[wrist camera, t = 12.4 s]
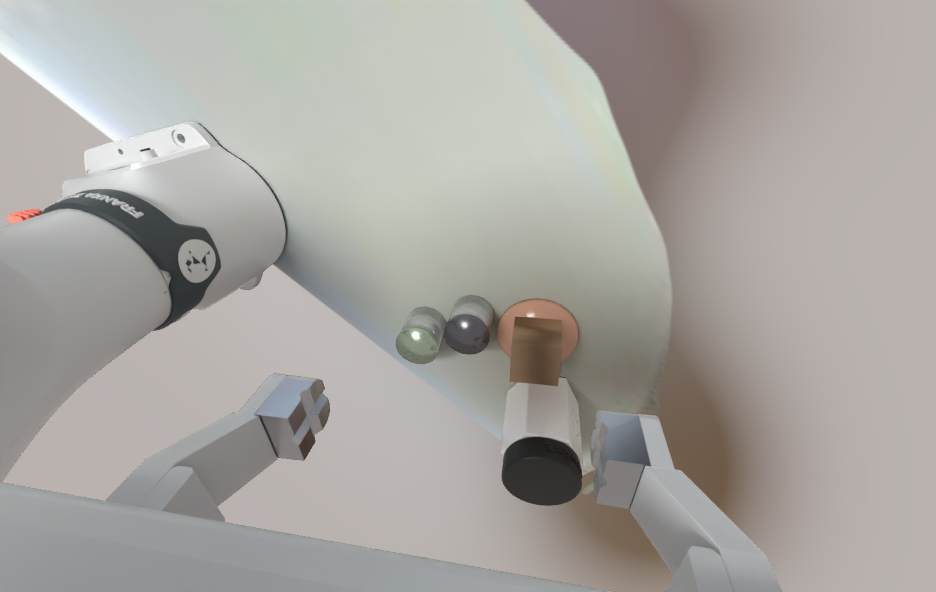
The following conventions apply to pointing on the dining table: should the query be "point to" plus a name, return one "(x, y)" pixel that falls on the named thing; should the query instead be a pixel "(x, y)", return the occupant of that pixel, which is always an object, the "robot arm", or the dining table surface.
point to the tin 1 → (421, 335)
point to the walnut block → (536, 351)
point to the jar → (542, 443)
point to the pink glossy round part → (538, 310)
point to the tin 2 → (469, 325)
